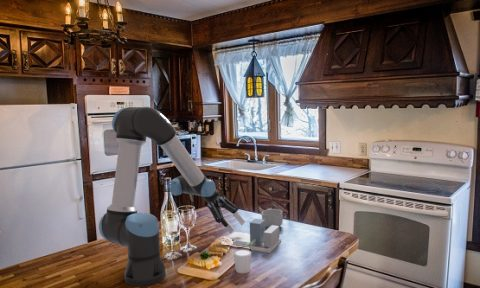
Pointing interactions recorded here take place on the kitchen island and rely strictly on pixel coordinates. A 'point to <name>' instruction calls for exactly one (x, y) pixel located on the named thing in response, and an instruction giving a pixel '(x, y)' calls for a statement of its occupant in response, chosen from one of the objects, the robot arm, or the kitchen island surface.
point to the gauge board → (266, 246)
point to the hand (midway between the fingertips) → (238, 227)
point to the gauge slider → (257, 231)
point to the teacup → (272, 217)
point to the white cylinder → (242, 260)
